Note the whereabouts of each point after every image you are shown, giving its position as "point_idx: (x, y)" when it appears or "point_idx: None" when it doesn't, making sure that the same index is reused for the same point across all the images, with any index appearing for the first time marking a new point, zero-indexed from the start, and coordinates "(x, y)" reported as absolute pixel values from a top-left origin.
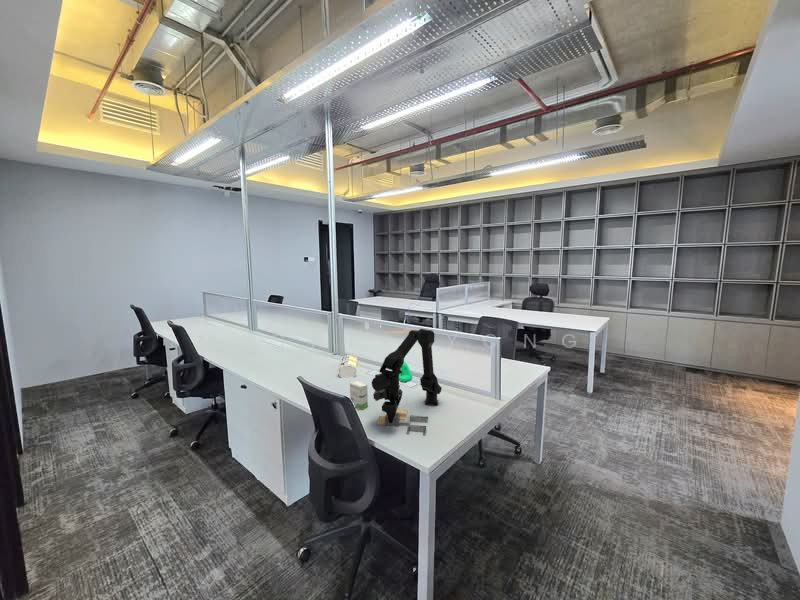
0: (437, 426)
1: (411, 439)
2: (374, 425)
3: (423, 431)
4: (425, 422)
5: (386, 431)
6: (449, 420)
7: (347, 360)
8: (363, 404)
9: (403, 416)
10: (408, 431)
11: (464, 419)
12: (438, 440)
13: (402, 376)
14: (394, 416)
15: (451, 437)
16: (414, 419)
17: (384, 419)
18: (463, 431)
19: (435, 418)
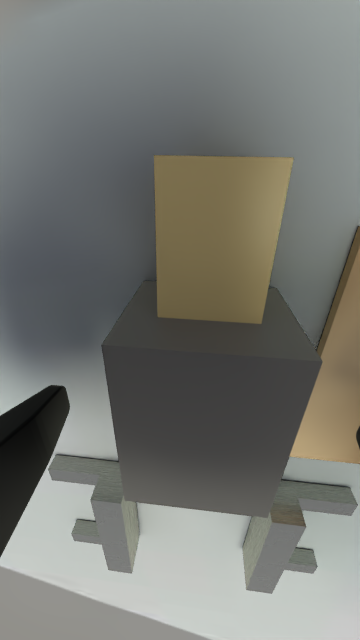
0: (199, 570)
1: None
2: (116, 110)
3: (97, 537)
4: (244, 542)
5: (27, 313)
6: (272, 607)
7: None
8: None
9: (355, 448)
10: (62, 478)
11: (281, 635)
12: (57, 555)
13: None
14: (165, 467)
15: (103, 586)
16: (260, 520)
17: (159, 298)
18: (167, 615)
19: (302, 577)
